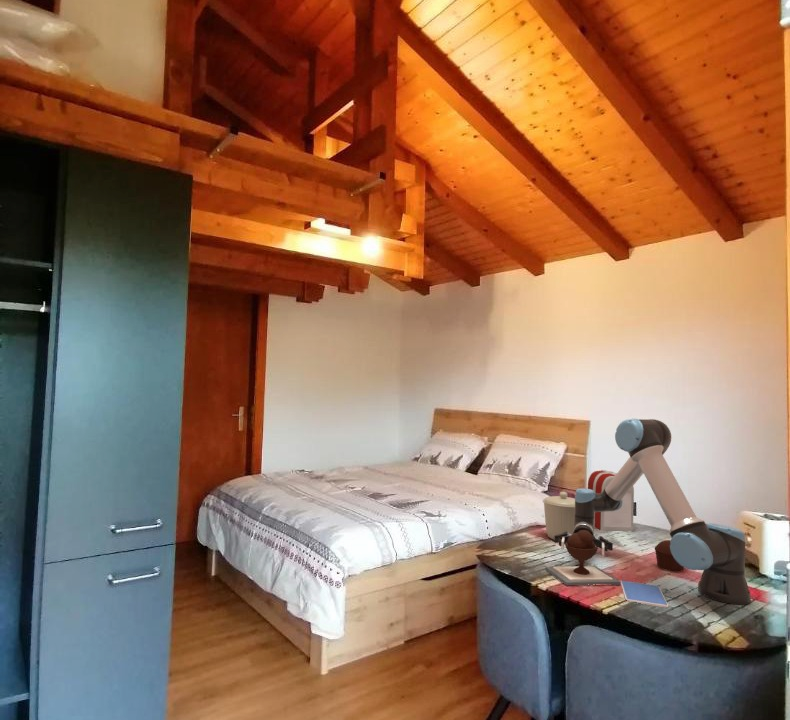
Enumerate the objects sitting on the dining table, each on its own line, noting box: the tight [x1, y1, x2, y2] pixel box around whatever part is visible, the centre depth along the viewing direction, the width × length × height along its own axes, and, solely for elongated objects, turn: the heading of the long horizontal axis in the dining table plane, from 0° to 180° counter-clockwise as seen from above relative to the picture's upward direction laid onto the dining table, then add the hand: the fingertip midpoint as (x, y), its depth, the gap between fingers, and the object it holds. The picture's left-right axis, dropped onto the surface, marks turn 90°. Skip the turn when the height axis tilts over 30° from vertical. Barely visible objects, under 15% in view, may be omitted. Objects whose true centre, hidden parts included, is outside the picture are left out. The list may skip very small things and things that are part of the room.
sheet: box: [552, 565, 613, 581], centre depth 193 cm, size 13×16×1 cm
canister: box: [542, 491, 575, 540], centre depth 244 cm, size 18×18×21 cm
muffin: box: [654, 539, 685, 572], centre depth 209 cm, size 12×11×10 cm
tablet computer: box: [619, 580, 670, 608], centre depth 180 cm, size 19×13×1 cm, turn 162°
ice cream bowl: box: [564, 530, 598, 575], centre depth 194 cm, size 11×11×15 cm
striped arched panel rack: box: [587, 469, 635, 532], centre depth 271 cm, size 16×18×27 cm
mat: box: [545, 565, 621, 586], centre depth 193 cm, size 16×20×1 cm
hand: (582, 548), depth 191 cm, fingers open, 13 cm apart
